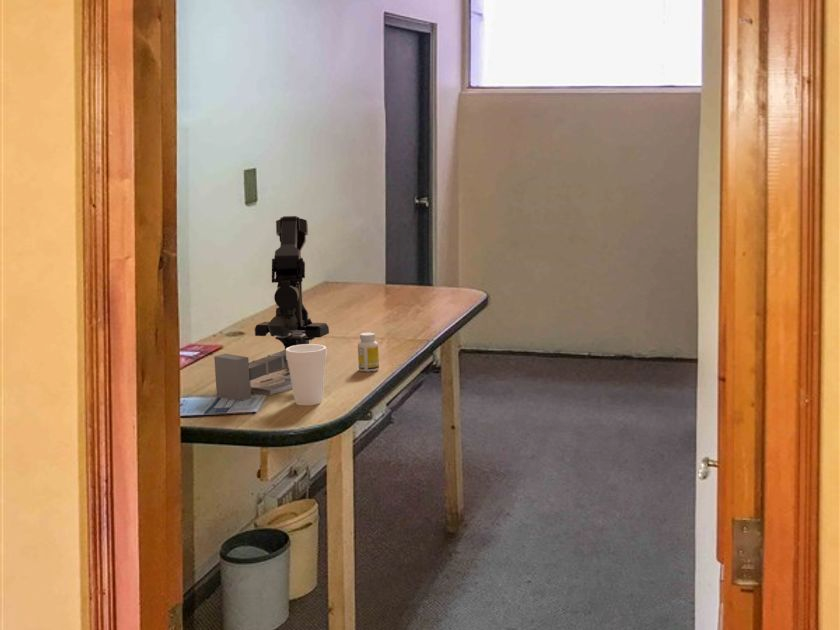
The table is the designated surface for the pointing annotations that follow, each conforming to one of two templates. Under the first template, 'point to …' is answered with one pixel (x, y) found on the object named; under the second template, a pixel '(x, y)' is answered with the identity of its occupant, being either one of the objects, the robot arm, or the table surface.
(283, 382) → the panel
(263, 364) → the bar
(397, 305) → the table surface
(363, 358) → the supplement bottle
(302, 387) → the foam cup
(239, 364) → the post
